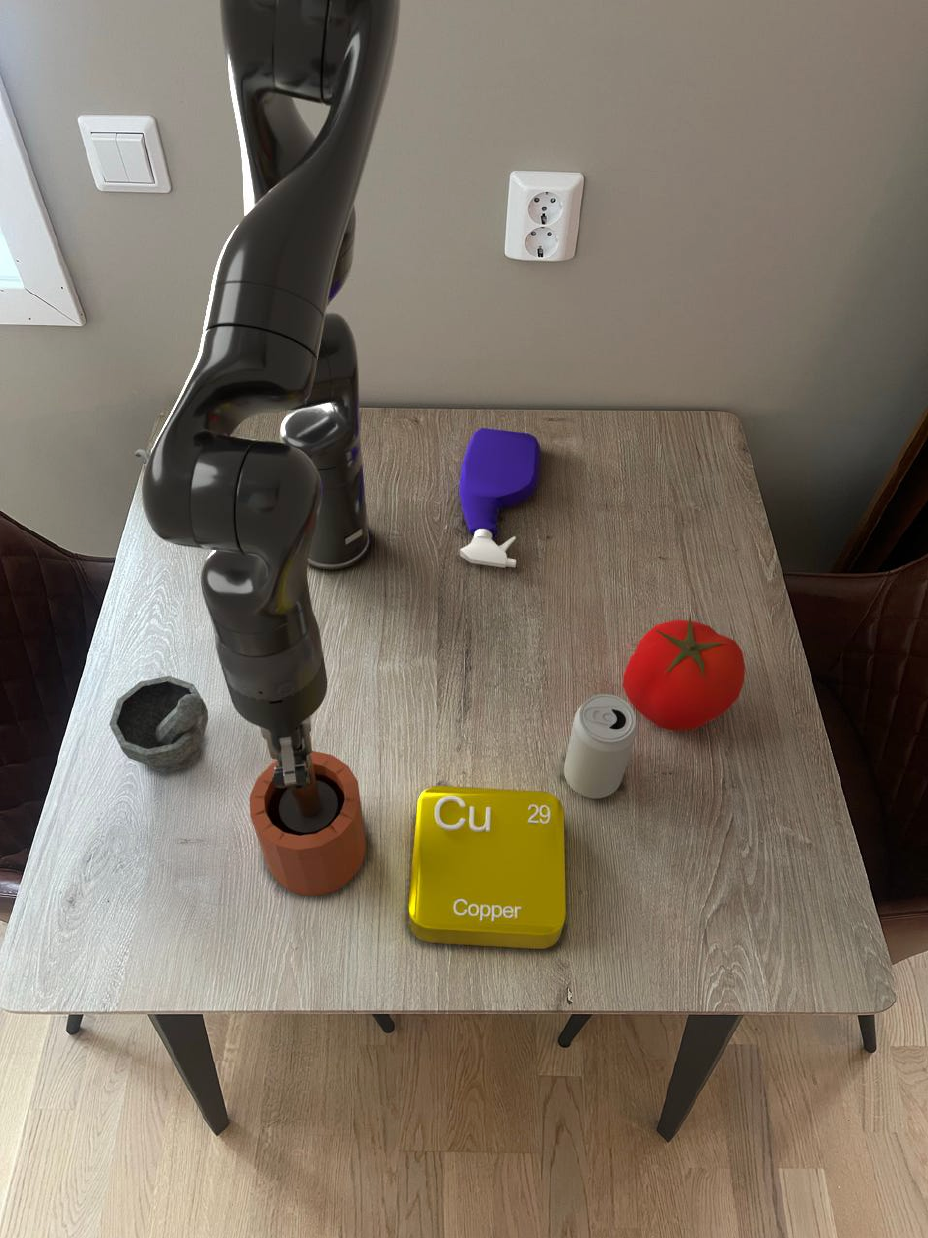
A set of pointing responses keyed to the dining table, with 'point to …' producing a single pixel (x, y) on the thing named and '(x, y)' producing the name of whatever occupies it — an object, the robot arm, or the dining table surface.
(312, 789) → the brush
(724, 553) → the dining table surface
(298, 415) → the robot arm
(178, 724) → the mortar and pestle
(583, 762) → the beverage can
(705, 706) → the tomato
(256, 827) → the jar
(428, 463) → the dining table surface
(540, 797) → the element tile
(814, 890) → the dining table surface
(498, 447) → the spray bottle
